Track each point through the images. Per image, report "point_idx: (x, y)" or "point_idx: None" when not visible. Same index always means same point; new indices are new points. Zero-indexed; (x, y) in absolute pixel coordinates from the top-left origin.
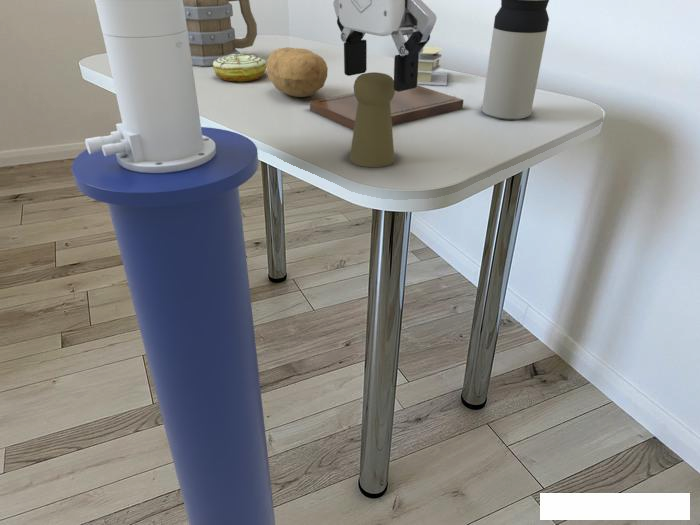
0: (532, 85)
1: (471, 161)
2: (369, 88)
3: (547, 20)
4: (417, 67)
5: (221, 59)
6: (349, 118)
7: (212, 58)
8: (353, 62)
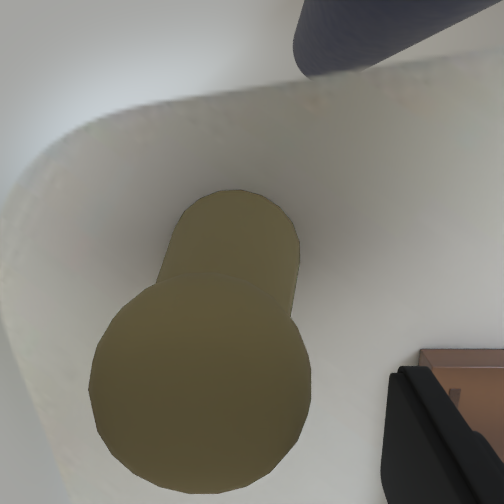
0: None
1: (92, 429)
2: (123, 318)
3: None
4: None
5: None
6: (496, 367)
7: None
8: (410, 455)
